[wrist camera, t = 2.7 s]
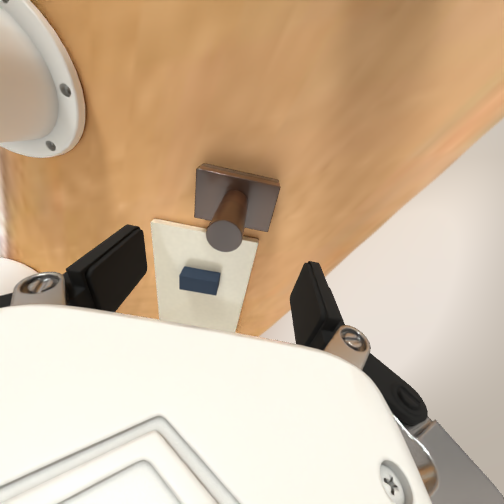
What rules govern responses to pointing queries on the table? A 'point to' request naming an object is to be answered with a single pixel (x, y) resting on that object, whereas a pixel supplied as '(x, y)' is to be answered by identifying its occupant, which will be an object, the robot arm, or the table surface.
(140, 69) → the table surface
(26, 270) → the eye dropper bottle
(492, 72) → the table surface
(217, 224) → the handled square plate
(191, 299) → the tile
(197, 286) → the eraser
